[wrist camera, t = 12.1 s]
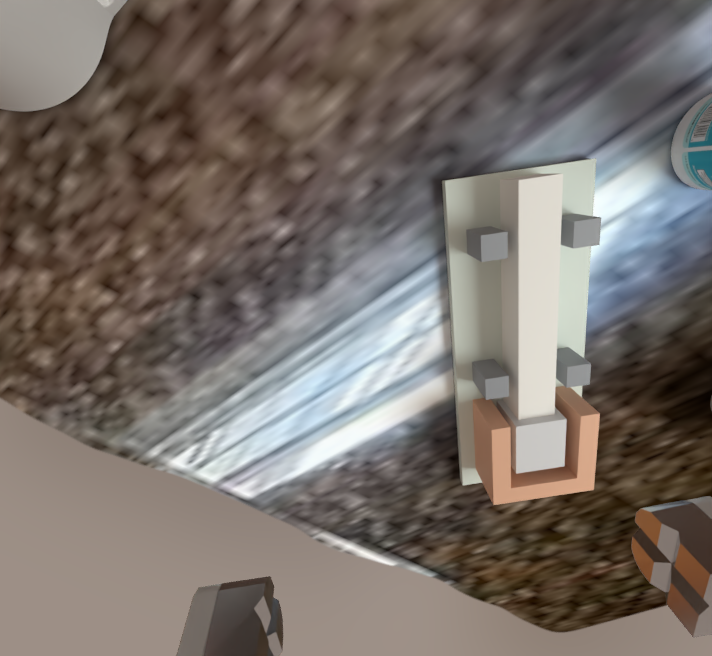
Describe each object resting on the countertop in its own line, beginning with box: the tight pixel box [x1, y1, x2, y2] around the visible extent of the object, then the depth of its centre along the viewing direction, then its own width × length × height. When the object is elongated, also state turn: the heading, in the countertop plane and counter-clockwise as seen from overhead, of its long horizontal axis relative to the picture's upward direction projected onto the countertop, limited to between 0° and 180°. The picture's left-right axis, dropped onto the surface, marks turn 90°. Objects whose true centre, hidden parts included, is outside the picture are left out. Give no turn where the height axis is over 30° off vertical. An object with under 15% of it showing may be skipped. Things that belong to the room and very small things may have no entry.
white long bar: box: [497, 174, 567, 474], centre depth 35 cm, size 25×4×4 cm, turn 8°
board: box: [442, 159, 601, 505], centre depth 36 cm, size 30×12×6 cm, turn 8°
